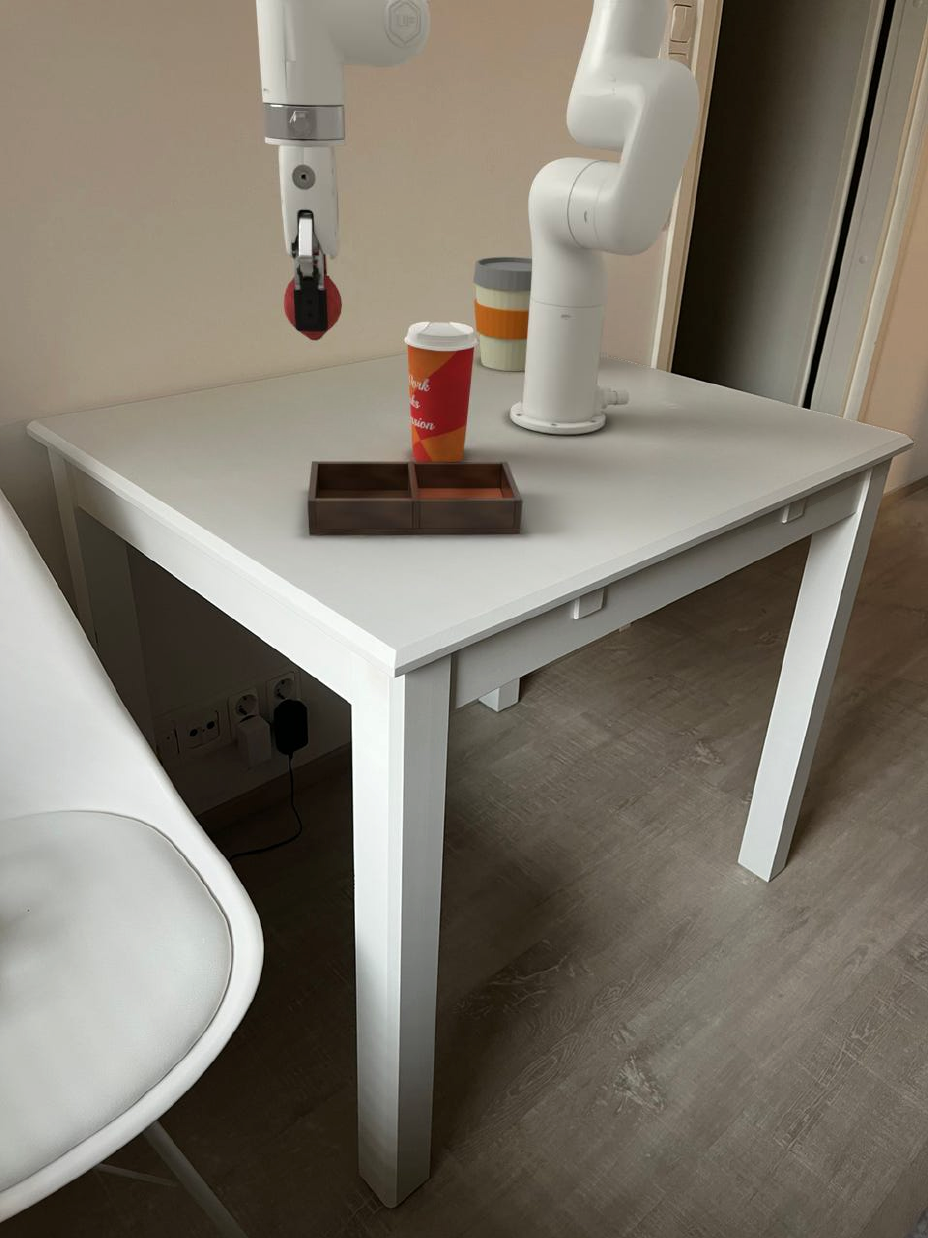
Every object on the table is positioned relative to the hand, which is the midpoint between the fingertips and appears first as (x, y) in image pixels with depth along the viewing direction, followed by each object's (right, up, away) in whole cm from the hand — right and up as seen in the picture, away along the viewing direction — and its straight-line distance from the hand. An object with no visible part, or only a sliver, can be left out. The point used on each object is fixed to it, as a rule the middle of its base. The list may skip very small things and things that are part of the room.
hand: (313, 320), depth 99 cm
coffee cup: (+12, -11, +16) cm, 23 cm away
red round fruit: (0, -2, +1) cm, 2 cm away
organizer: (+10, -20, +1) cm, 22 cm away
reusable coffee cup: (+23, +10, +54) cm, 59 cm away
